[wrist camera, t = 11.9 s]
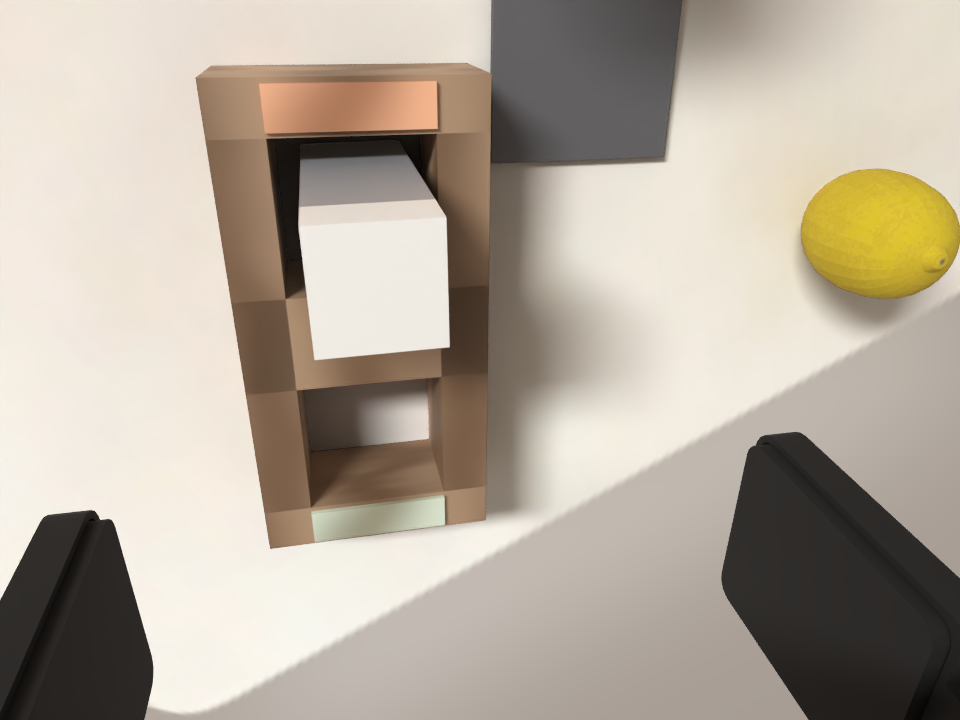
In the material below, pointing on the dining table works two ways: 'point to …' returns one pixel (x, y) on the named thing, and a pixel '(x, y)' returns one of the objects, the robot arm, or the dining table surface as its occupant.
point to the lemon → (880, 233)
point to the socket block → (284, 308)
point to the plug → (371, 251)
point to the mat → (581, 78)
